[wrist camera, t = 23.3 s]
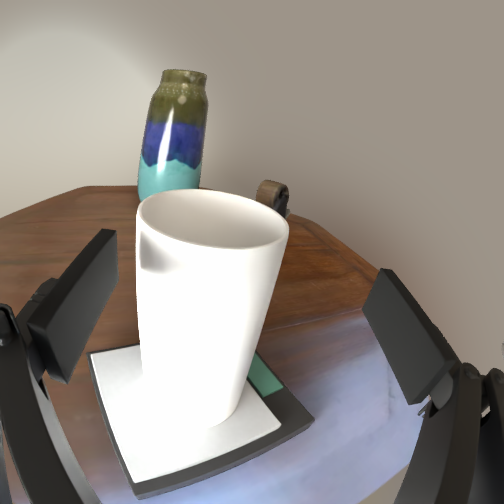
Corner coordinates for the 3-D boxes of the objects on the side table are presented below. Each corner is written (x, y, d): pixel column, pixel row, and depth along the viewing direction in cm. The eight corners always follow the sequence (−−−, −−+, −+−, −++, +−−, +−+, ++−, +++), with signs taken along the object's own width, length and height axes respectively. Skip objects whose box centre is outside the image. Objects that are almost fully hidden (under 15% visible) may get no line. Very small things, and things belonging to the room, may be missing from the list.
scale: (308, 428, 23) (318, 415, 22) (138, 500, 14) (132, 493, 12) (229, 332, 34) (233, 315, 32) (89, 364, 24) (84, 347, 23)
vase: (204, 221, 61) (229, 75, 47) (141, 224, 54) (159, 65, 40) (185, 199, 71) (204, 78, 57) (132, 201, 64) (147, 71, 50)
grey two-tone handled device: (238, 262, 49) (252, 197, 44) (212, 248, 52) (222, 186, 46) (290, 232, 66) (303, 184, 60) (268, 222, 68) (280, 175, 63)
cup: (177, 341, 27) (191, 181, 20) (253, 377, 25) (303, 215, 18) (127, 395, 20) (104, 211, 13) (214, 445, 18) (259, 272, 11)
